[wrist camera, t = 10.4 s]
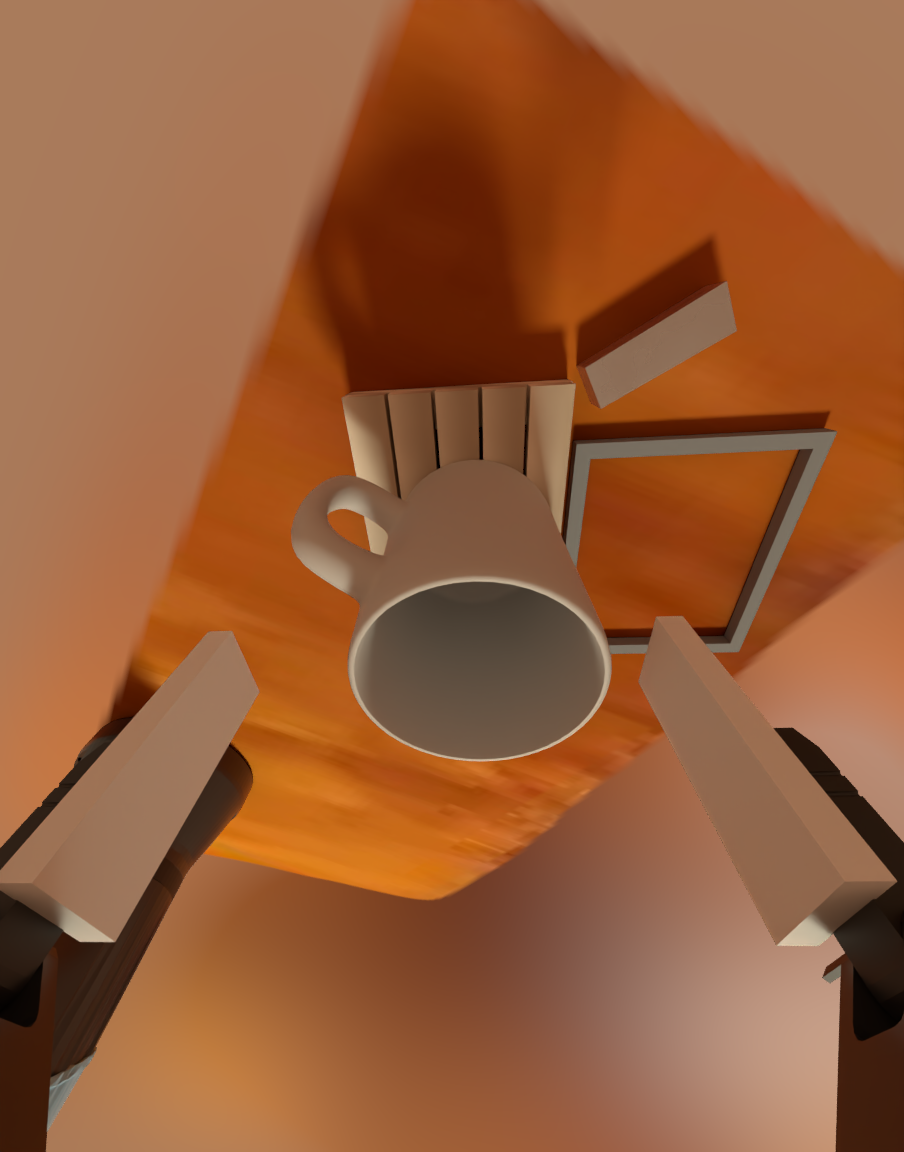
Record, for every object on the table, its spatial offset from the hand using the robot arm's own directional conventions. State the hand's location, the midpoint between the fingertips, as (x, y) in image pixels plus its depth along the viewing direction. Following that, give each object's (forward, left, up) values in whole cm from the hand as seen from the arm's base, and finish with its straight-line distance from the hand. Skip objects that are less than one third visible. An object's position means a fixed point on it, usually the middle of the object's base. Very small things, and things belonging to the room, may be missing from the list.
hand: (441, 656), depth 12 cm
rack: (0, 0, -13) cm, 13 cm away
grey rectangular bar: (+9, +8, -13) cm, 18 cm away
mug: (0, 0, -11) cm, 11 cm away
